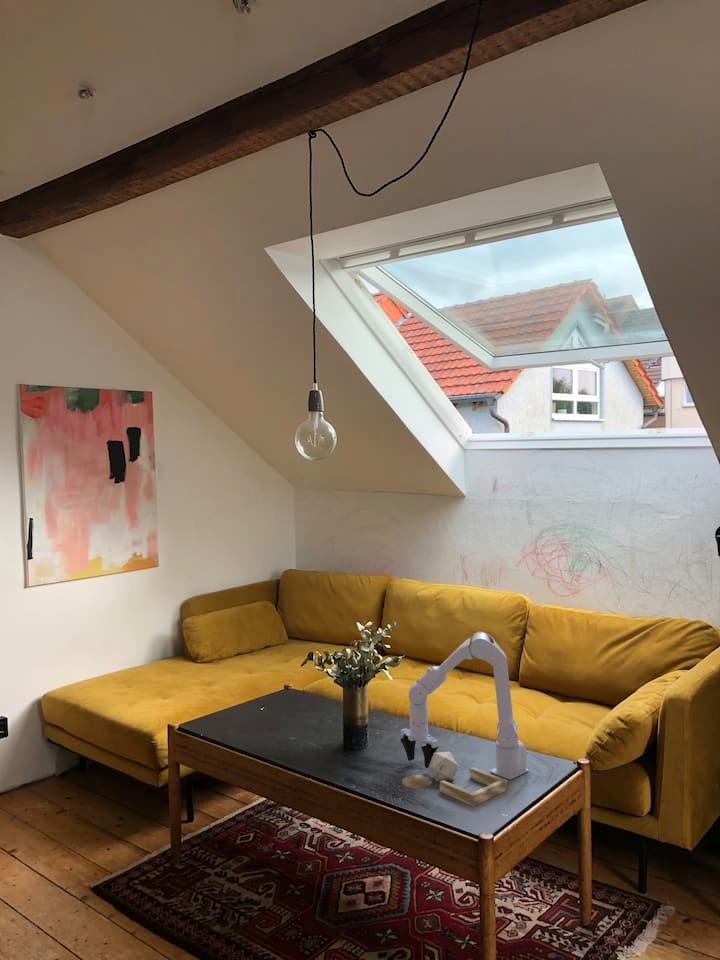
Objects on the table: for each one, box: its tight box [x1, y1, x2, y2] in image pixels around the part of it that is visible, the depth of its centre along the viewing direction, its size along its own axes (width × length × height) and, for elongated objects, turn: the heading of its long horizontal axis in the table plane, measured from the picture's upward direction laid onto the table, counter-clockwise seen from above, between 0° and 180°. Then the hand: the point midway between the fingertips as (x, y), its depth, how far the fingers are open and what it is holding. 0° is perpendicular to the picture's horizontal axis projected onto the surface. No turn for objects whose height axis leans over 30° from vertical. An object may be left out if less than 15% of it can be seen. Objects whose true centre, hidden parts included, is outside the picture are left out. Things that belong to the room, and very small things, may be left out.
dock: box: [439, 766, 508, 807], centre depth 230 cm, size 15×13×3 cm
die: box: [428, 751, 459, 782], centre depth 239 cm, size 8×9×10 cm
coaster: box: [401, 774, 433, 789], centre depth 237 cm, size 9×9×1 cm
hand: (419, 763), depth 247 cm, fingers open, 7 cm apart
